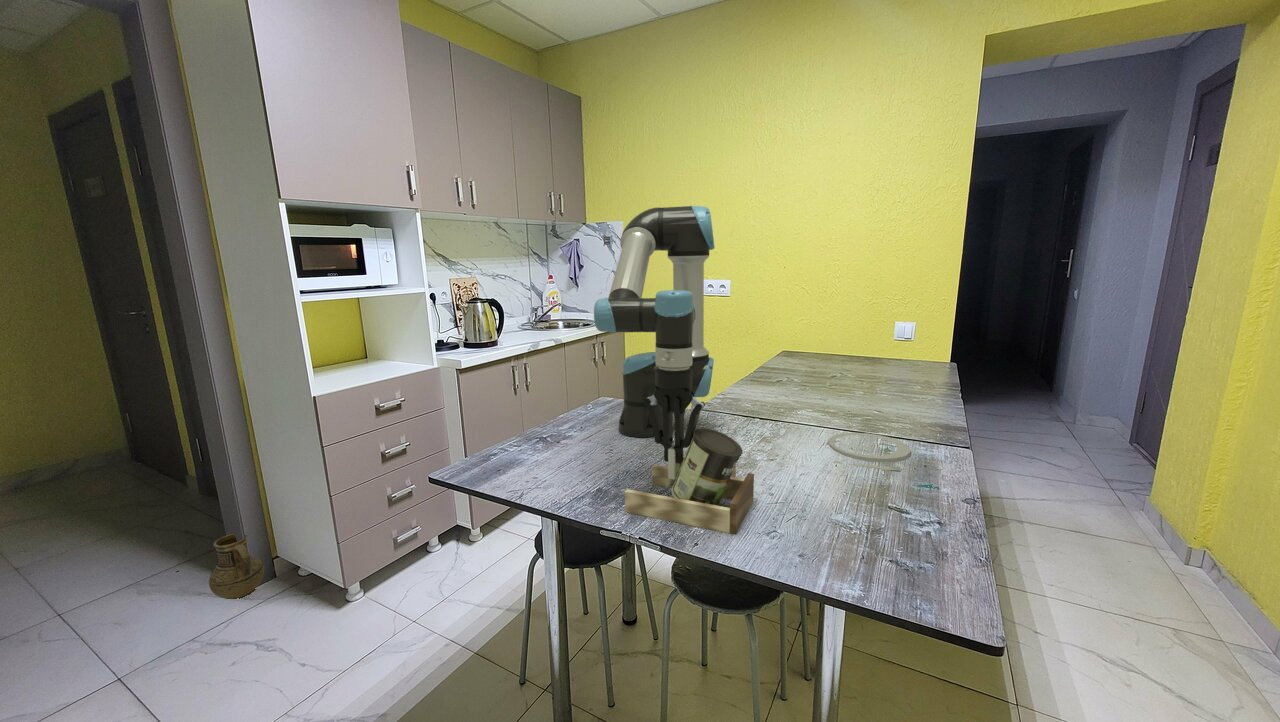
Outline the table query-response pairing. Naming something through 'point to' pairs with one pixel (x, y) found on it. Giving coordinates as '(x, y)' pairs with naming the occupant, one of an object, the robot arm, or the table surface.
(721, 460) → the coffee can
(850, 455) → the place mat
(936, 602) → the table surface
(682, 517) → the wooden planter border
